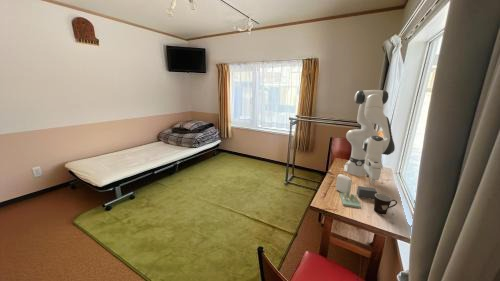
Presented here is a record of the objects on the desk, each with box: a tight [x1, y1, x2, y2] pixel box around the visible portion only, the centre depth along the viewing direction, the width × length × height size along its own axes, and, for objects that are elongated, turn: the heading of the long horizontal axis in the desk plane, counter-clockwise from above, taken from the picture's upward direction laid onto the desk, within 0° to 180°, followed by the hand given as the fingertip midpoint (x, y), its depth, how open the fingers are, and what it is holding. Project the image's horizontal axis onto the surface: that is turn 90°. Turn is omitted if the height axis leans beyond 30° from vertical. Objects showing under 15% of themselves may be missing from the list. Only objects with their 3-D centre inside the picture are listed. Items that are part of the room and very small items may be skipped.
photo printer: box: [335, 174, 353, 194], centre depth 140 cm, size 10×4×12 cm, turn 29°
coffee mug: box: [373, 192, 398, 216], centre depth 117 cm, size 12×9×10 cm
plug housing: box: [356, 185, 378, 200], centre depth 135 cm, size 5×11×6 cm, turn 74°
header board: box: [339, 192, 362, 209], centre depth 130 cm, size 14×10×5 cm
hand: (369, 180), depth 132 cm, fingers open, 8 cm apart
